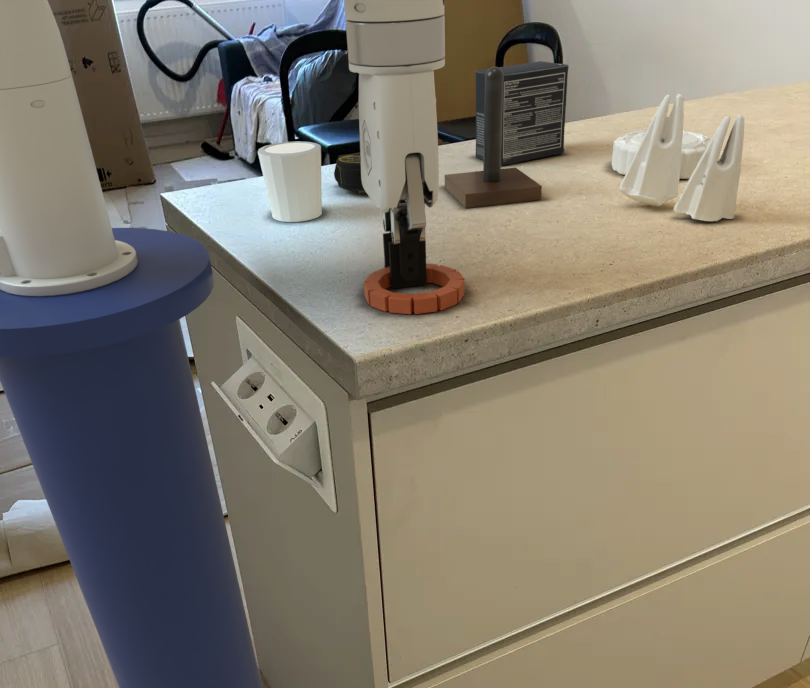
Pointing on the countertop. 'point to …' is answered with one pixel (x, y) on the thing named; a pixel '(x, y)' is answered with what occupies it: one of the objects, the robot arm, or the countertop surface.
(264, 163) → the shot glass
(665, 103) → the shaker set
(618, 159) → the mooncake
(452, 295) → the ring
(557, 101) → the small box
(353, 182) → the tape measure
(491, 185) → the stand
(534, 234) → the countertop surface
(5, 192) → the robot arm
